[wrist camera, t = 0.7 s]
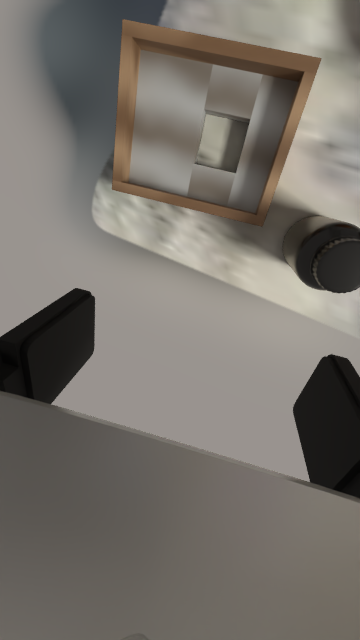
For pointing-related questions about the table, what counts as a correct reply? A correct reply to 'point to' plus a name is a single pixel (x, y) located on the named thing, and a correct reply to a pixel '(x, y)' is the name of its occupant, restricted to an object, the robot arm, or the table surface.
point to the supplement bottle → (324, 253)
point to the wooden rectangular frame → (189, 115)
